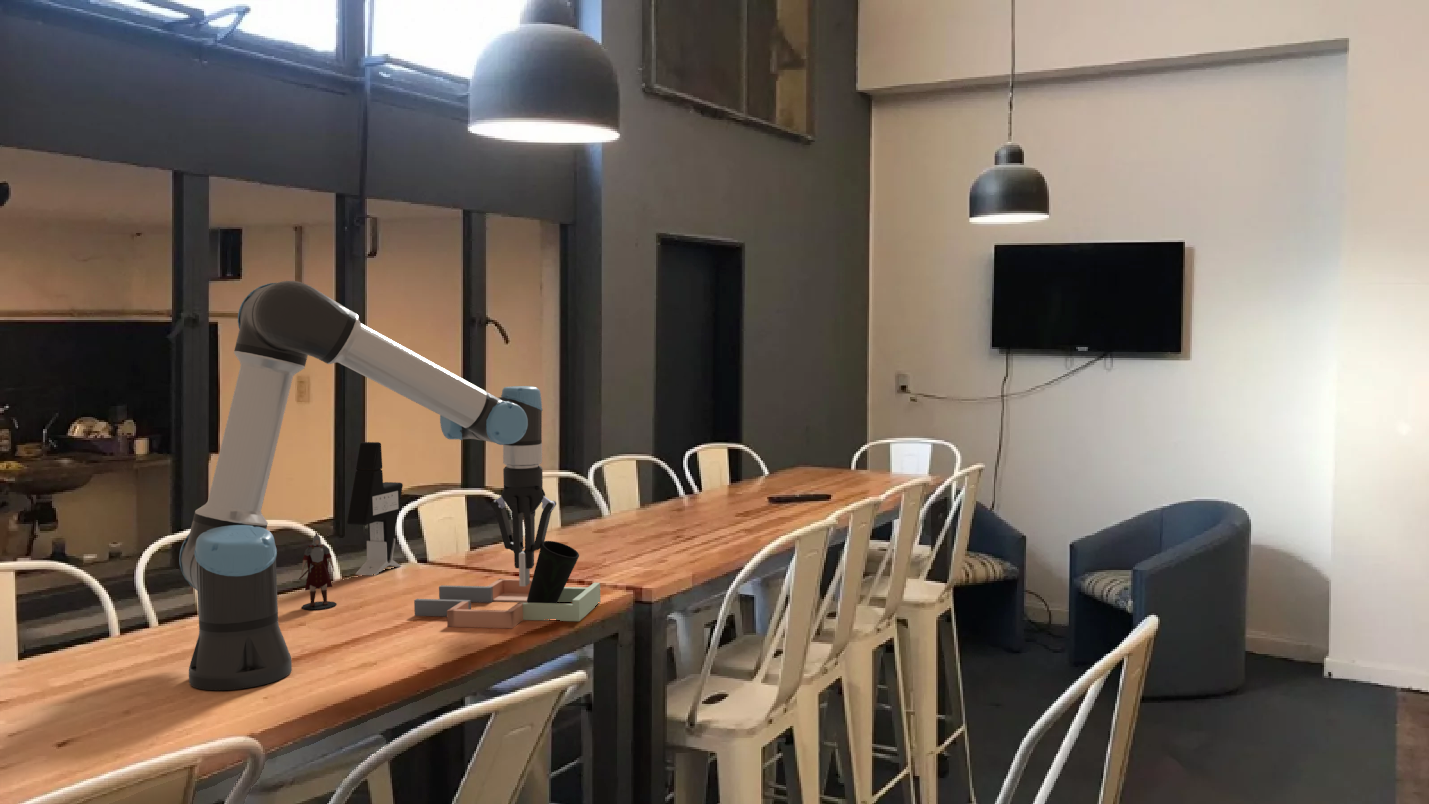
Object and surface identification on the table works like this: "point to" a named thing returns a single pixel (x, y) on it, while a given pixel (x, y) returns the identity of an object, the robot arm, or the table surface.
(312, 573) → the figurine
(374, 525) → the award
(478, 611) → the track
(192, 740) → the table surface
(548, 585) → the cup
